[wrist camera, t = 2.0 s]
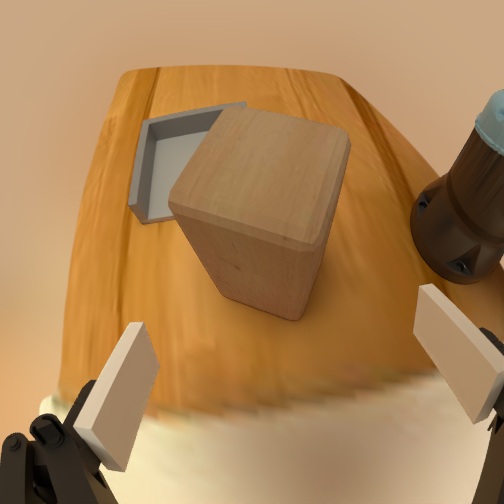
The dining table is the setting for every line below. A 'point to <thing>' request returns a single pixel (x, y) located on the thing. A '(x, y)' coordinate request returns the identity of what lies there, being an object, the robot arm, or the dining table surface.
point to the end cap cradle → (166, 158)
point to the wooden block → (262, 205)
